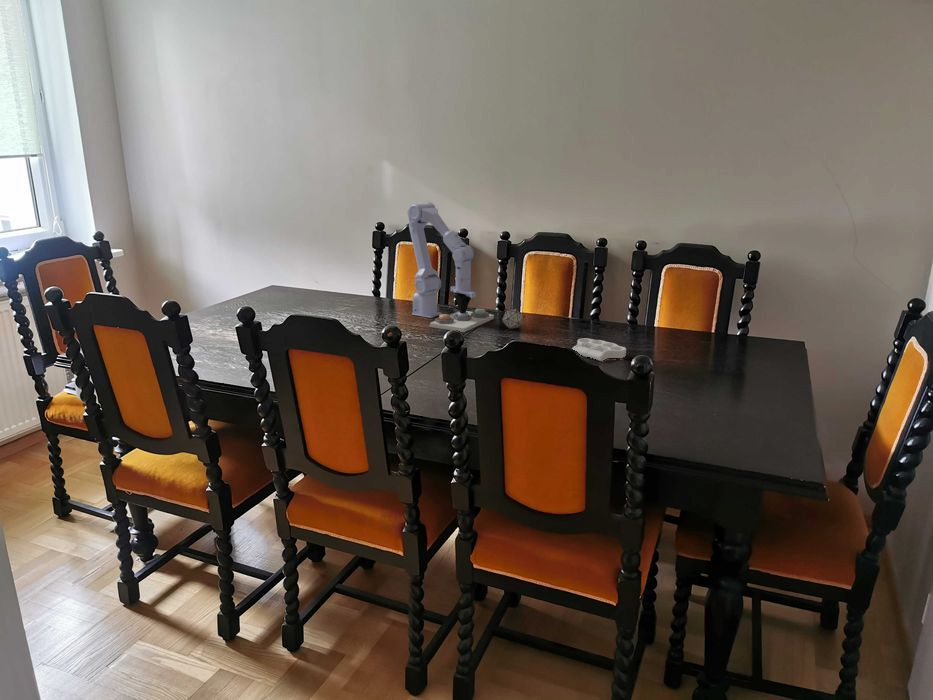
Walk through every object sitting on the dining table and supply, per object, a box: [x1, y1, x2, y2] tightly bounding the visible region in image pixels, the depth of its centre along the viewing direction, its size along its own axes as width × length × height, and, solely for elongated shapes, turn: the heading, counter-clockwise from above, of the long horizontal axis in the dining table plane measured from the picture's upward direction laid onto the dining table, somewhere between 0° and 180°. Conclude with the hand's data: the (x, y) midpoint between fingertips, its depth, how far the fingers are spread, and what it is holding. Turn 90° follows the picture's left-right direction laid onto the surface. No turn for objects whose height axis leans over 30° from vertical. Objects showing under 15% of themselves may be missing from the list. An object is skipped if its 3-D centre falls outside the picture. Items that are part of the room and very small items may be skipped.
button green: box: [474, 308, 486, 315], centre depth 273 cm, size 4×4×2 cm
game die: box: [499, 306, 526, 331], centre depth 260 cm, size 9×8×10 cm
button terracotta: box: [438, 313, 451, 320], centre depth 264 cm, size 4×4×2 cm
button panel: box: [429, 310, 495, 333], centre depth 269 cm, size 15×24×3 cm, turn 151°
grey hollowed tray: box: [571, 337, 627, 362], centre depth 233 cm, size 3×18×15 cm
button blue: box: [457, 311, 468, 317], centre depth 268 cm, size 4×4×2 cm
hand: (462, 312), depth 268 cm, fingers closed, pressing on button blue
